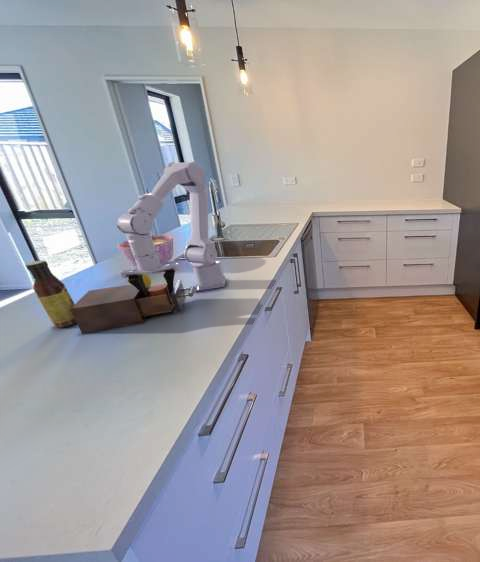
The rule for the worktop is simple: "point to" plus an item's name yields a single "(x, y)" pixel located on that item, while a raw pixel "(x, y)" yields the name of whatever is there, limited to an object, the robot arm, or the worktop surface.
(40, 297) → the sauce bottle
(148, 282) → the lemon
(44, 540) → the worktop surface
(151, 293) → the orange block
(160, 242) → the bowl of food
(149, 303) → the drawer
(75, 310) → the cabinet
